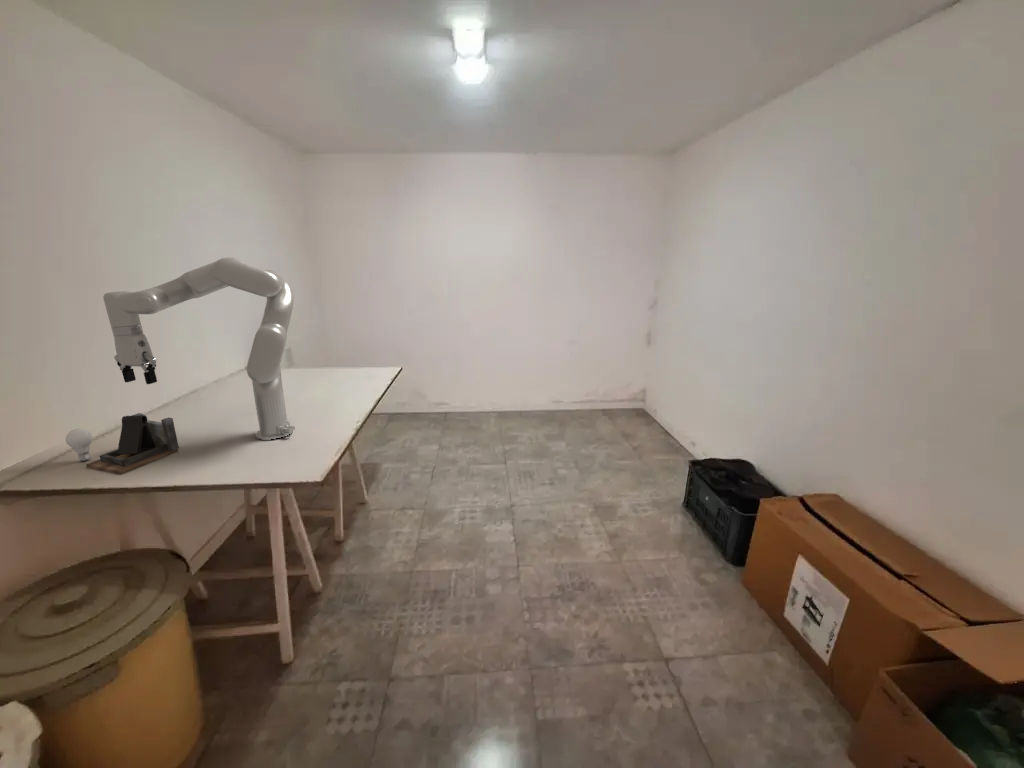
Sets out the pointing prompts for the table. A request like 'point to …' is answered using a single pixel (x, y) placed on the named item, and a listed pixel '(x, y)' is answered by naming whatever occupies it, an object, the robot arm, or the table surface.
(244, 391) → the table surface
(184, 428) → the table surface
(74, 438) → the lightbulb
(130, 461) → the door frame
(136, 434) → the phone stand
